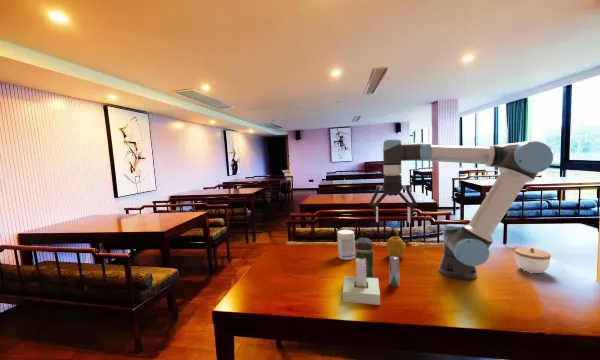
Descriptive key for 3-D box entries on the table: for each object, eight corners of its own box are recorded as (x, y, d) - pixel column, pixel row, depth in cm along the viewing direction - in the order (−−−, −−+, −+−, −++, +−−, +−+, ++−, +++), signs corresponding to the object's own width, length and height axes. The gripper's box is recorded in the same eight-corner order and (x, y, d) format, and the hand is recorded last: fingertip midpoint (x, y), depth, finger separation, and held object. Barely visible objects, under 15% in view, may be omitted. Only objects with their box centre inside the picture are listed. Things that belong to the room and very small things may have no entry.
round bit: (398, 282, 116) (398, 256, 115) (399, 286, 112) (399, 259, 111) (389, 281, 117) (389, 255, 116) (390, 286, 113) (389, 259, 112)
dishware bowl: (548, 279, 114) (549, 254, 113) (511, 270, 124) (512, 248, 123) (551, 270, 122) (552, 247, 122) (517, 263, 132) (517, 242, 131)
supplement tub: (358, 256, 148) (358, 231, 147) (348, 261, 141) (348, 235, 140) (344, 253, 155) (343, 228, 154) (334, 257, 148) (333, 232, 147)
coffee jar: (373, 284, 115) (373, 243, 114) (355, 282, 117) (354, 242, 116) (372, 274, 125) (372, 236, 123) (356, 273, 127) (355, 236, 125)
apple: (384, 253, 151) (384, 234, 150) (402, 254, 150) (402, 234, 149) (388, 260, 142) (388, 239, 141) (406, 260, 140) (406, 239, 139)
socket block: (378, 287, 112) (378, 278, 112) (380, 305, 99) (380, 294, 98) (345, 284, 116) (345, 275, 115) (342, 301, 102) (342, 291, 102)
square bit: (366, 291, 109) (366, 258, 108) (366, 296, 105) (366, 262, 104) (356, 290, 110) (356, 258, 109) (356, 295, 106) (355, 261, 105)
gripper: (421, 173, 116) (421, 220, 118) (363, 174, 122) (364, 219, 124) (424, 174, 109) (424, 224, 111) (363, 175, 115) (364, 223, 117)
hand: (392, 221), depth 117 cm, fingers open, 13 cm apart
